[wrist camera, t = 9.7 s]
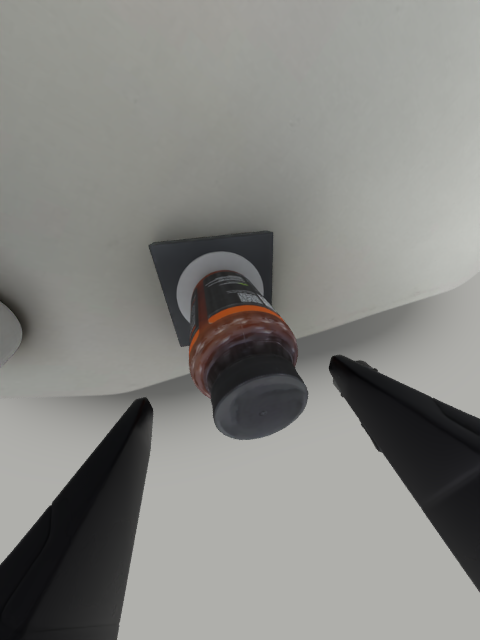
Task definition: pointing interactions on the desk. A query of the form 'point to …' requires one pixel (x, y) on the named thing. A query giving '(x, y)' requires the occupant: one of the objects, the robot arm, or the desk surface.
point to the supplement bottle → (243, 358)
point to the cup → (8, 333)
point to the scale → (209, 268)
